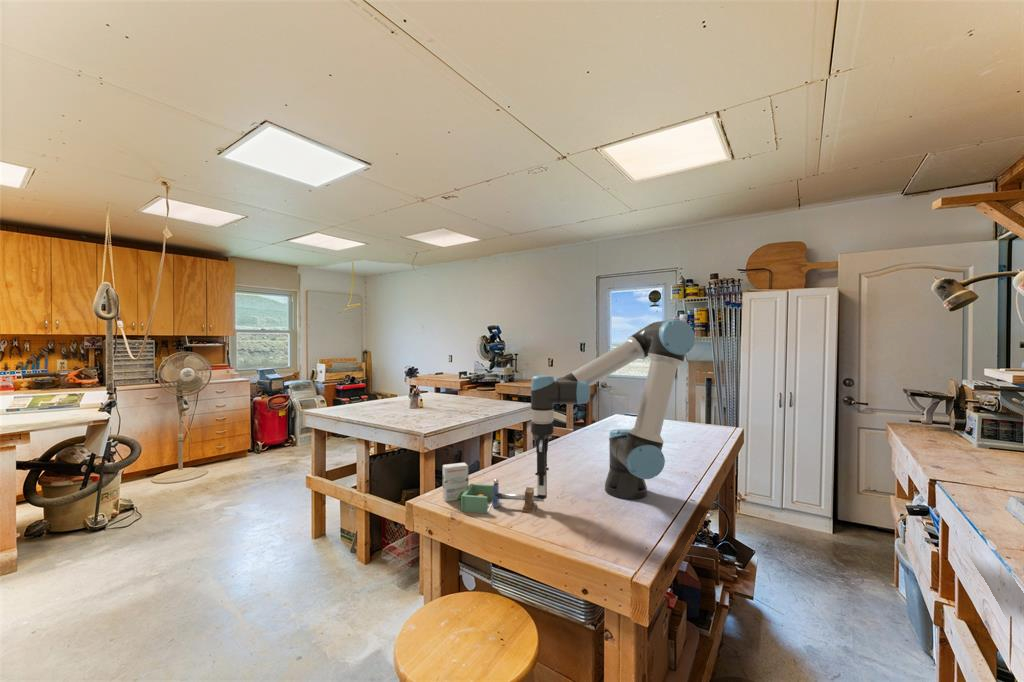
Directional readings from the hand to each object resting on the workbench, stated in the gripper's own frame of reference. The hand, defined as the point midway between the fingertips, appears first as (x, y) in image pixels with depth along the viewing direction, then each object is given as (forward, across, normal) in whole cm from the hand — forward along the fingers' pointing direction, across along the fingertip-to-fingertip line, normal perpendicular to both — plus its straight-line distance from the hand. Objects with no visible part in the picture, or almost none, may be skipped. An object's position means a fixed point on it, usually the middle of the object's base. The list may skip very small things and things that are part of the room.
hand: (542, 492), depth 130 cm
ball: (+4, 0, -21) cm, 21 cm away
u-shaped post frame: (+6, 0, -7) cm, 9 cm away
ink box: (+6, -5, -32) cm, 33 cm away
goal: (+6, 0, -23) cm, 23 cm away
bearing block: (+6, 0, -4) cm, 7 cm away
